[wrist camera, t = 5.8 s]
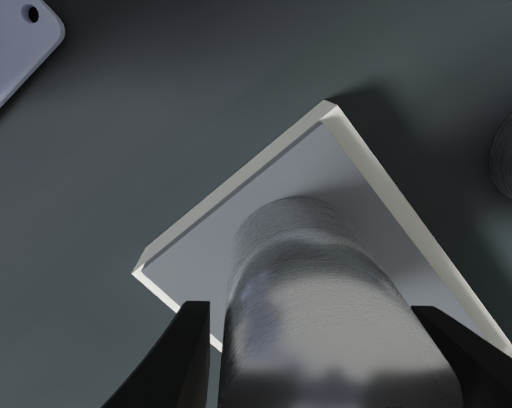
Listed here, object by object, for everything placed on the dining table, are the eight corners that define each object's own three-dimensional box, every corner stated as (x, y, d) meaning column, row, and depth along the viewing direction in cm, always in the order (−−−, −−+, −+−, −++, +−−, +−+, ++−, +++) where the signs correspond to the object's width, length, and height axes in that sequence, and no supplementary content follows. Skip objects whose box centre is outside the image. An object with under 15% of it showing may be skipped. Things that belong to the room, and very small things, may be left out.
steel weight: (223, 306, 13) (205, 497, 7) (237, 188, 11) (230, 313, 5) (344, 317, 13) (420, 509, 7) (374, 205, 11) (500, 338, 6)
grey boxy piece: (145, 247, 15) (99, 331, 10) (323, 99, 13) (370, 118, 8) (345, 430, 19) (379, 551, 14) (501, 339, 17) (599, 444, 12)
